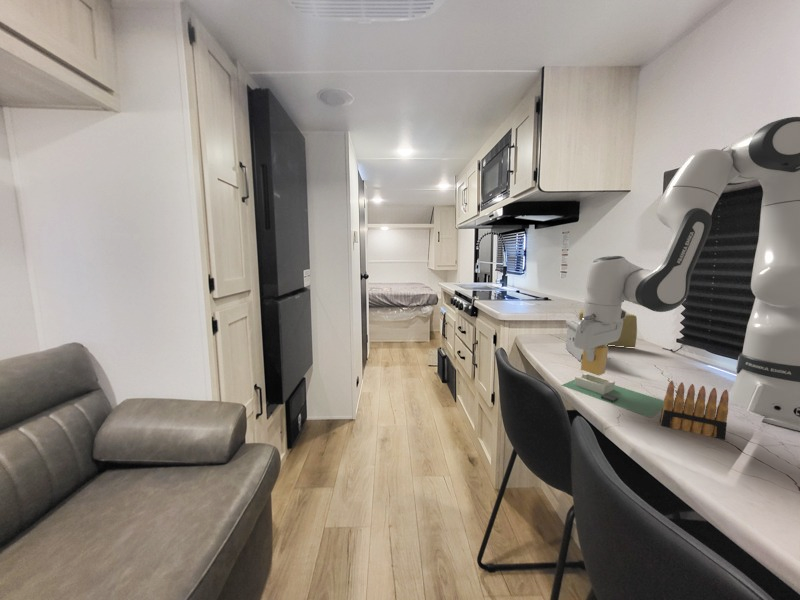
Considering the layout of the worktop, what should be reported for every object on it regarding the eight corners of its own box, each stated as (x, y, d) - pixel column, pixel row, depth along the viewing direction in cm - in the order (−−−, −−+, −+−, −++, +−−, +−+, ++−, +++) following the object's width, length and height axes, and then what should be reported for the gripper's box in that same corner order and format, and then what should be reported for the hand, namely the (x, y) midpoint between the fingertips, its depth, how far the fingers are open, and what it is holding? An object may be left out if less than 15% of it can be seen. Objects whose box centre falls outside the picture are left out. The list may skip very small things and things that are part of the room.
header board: (670, 407, 82) (672, 394, 81) (650, 422, 74) (652, 408, 73) (584, 379, 100) (585, 368, 99) (560, 388, 92) (561, 377, 92)
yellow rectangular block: (604, 373, 90) (608, 346, 88) (598, 375, 88) (602, 348, 86) (584, 366, 94) (588, 341, 93) (578, 368, 92) (582, 343, 91)
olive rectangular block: (633, 346, 138) (637, 313, 136) (636, 351, 130) (641, 317, 127) (576, 339, 149) (579, 308, 147) (576, 343, 141) (579, 311, 138)
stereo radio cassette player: (605, 367, 111) (611, 313, 108) (580, 365, 113) (585, 311, 110) (583, 349, 132) (587, 303, 129) (562, 348, 133) (566, 303, 130)
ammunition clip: (660, 430, 71) (667, 381, 69) (658, 426, 72) (665, 378, 71) (724, 445, 65) (734, 392, 64) (721, 441, 67) (730, 389, 65)
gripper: (595, 319, 80) (588, 369, 82) (629, 311, 91) (622, 356, 93) (570, 314, 85) (565, 362, 87) (605, 308, 96) (599, 350, 98)
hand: (595, 359), depth 90 cm, fingers closed on yellow rectangular block, 3 cm apart
